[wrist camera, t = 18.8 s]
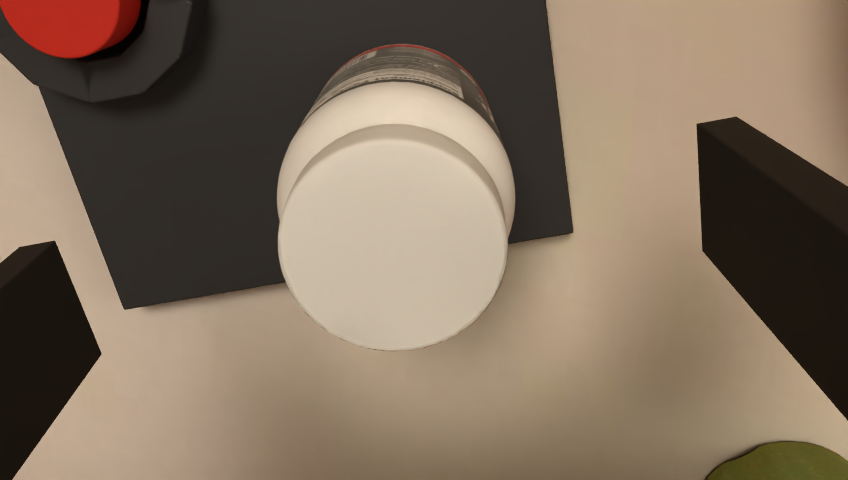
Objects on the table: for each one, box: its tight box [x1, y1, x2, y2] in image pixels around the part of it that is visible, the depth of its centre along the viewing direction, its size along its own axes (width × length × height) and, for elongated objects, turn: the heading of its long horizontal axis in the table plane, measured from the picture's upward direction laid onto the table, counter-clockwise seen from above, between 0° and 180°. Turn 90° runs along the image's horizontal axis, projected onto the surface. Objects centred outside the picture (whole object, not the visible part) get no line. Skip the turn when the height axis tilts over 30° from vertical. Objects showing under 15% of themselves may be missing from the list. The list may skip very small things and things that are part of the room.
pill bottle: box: [277, 44, 515, 351], centre depth 20 cm, size 6×6×10 cm
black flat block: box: [0, 0, 573, 310], centre depth 24 cm, size 16×14×3 cm
